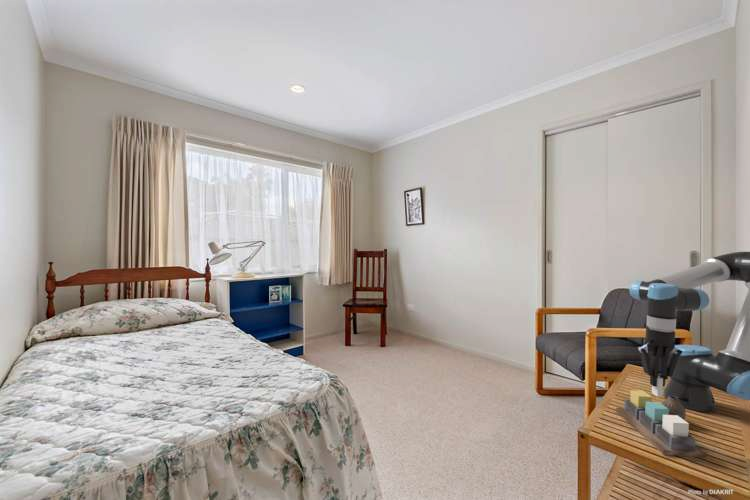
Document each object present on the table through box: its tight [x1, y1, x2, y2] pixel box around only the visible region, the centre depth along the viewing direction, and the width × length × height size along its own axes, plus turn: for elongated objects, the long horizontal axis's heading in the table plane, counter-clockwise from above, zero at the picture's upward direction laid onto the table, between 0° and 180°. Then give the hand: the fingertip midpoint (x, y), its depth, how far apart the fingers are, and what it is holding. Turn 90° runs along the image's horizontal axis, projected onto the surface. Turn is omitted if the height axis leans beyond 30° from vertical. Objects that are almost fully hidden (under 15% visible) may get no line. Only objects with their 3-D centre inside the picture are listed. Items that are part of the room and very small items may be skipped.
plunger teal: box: [645, 401, 669, 421], centre depth 111 cm, size 4×4×5 cm
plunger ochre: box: [629, 389, 653, 408], centre depth 119 cm, size 4×4×5 cm
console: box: [615, 398, 707, 458], centre depth 112 cm, size 12×24×6 cm, turn 173°
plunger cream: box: [662, 415, 690, 437], centre depth 104 cm, size 4×4×5 cm
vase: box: [660, 396, 687, 420], centre depth 118 cm, size 7×7×9 cm
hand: (656, 394), depth 111 cm, fingers closed
